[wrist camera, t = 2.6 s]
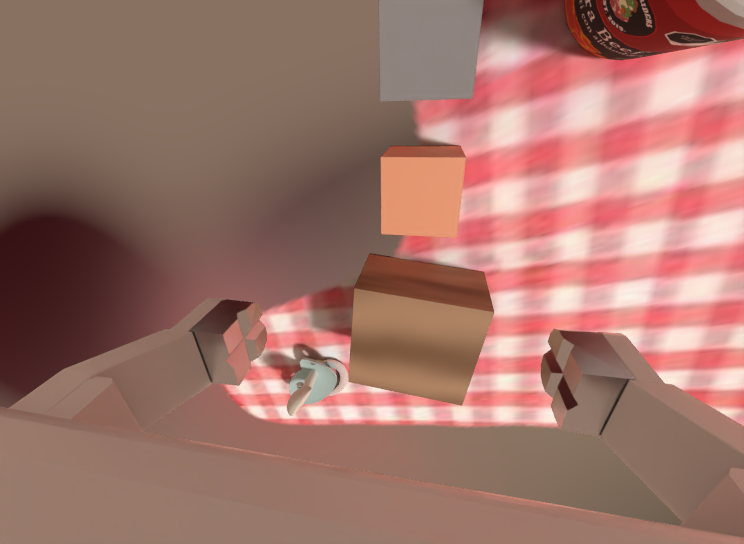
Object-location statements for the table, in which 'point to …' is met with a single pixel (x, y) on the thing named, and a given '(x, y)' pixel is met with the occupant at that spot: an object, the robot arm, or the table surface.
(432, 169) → the terracotta cube
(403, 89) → the gray metal cube
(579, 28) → the canned food
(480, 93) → the table surface
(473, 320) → the walnut block
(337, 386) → the pacifier
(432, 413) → the table surface
